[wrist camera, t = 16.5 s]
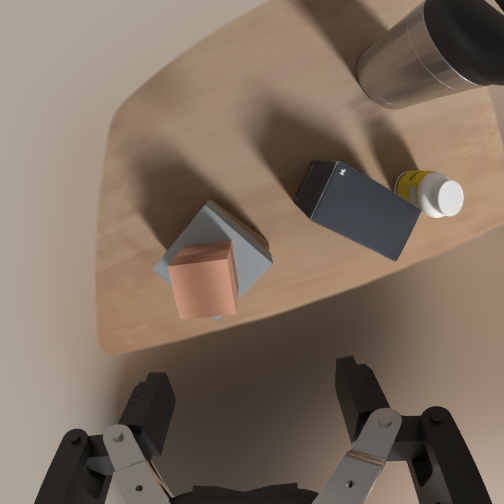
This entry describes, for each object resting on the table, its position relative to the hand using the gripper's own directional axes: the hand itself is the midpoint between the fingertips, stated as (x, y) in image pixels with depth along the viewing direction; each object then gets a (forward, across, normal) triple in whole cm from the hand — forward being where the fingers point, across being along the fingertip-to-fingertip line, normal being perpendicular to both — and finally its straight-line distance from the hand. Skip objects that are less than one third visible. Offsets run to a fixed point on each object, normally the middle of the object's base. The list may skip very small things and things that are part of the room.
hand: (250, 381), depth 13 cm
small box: (+26, -11, -4) cm, 28 cm away
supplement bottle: (+26, -22, -4) cm, 34 cm away
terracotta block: (+18, +4, 0) cm, 18 cm away
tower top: (+22, +4, 0) cm, 22 cm away
